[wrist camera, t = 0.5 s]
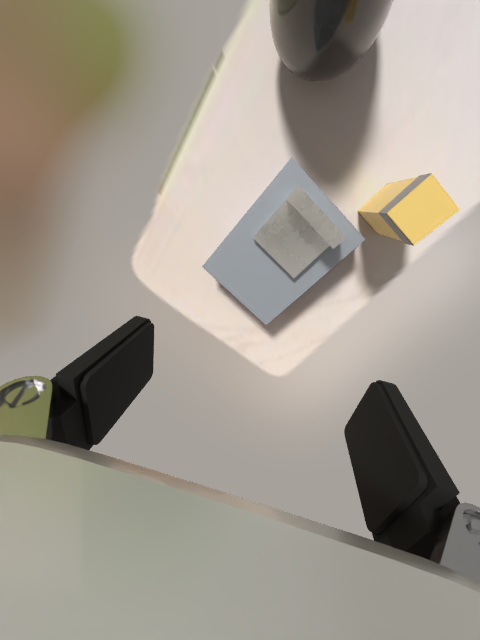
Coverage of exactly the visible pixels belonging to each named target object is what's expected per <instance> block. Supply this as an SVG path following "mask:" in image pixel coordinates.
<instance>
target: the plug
mask: <svg viewBox="0 0 480 640" xmlns="http://www.w3.org/2000/svg"><path fill="white" fill-rule="evenodd" d="M459 210H460V209H459V208H458V206H457V205H456V204H455V203H454V201H453V200H452V199H451V197H450V196H449V195H448V194H447V192H446V191H445V190H444V188H443V187H442V186H441V185H440V183H439V182H438V181H437V179H436V178H435V177H434V176H433V174H431V173H430V174H425V175H421V176H419V177H416V178H411V179H407V180H402V181H398V182H393V183H388V184H386V185H385V186H384V187H383V188H382V189H381V190H380V191H379V192H378V193H377V194H376V195H375V196H373V197H372V198H371V199H370V200H369V201H368V202H367V203H366V204H365V205H364V206H363V207H362V208H361V209H360V210H359V211H358V212H359V213H360V214H361V215H362V216H363V218H364V219H365V220H366V221H367V222H368V223H369V224H370V225H371V227H372V228H373V229H374V230H375V231H376V232H377V233H378V234H380V235H383V236H386V237H390V238H393V239H396V240H399V241H402V242H404V243H406V244H409V245H415V244H417V243H418V242H419V241H420V240H422V239H423V238H424V237H426V236H427V235H428V234H429V233H431V232H432V231H433V230H435V229H436V228H437V227H438V226H440V225H441V224H442V223H444V222H445V221H446V220H447V219H449V218H450V217H451V216H453V215H454V214H455V213H456V212H458V211H459Z"/></svg>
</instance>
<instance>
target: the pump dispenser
mask: <svg viewBox="0 0 480 640" xmlns="http://www.w3.org/2000/svg"><path fill="white" fill-rule="evenodd" d="M392 3H393V0H270V24H271V31H272V37H273V41H274V44H275V47H276V50H277V52H278V54H279V56H280V58H281V60H282V61H283V63H284V64H285V66H286V67H287V68H288V69H289V70H290V71H291V72H292V73H294V74H295V75H297V76H298V77H300V78H302V79H305V80H309V81H325V80H329V79H333V78H335V77H337V76H339V75H341V74H343V73H345V72H346V71H348V70H349V69H350V68H352V67H353V66H354V65H355V64H356V63H357V62H358V61H359V60H360V59H361V58H362V57H363V56H364V55H365V54H366V52H367V51H368V50H369V48H370V47H371V46H372V44H373V43H374V41H375V39H376V38H377V36H378V34H379V32H380V30H381V28H382V26H383V24H384V22H385V20H386V18H387V16H388V13H389V11H390V8H391V6H392Z"/></svg>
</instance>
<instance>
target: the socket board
mask: <svg viewBox="0 0 480 640" xmlns="http://www.w3.org/2000/svg"><path fill="white" fill-rule="evenodd" d="M298 186H300V187H301V188H302V189H303V190H304V191H305V193H306V194H307V195H308V196H309V197H310V198H311V199H312V200H313V201H314V202H315V204H316V205H317V206H318V207H319V208H320V209H321V210H322V211H323V212H324V213H325V214H326V216H327V217H328V218H329V219H330V220H331V221H332V222H333V223H334V224H335V225H336V226H337V228H338V229H339V230H340V231H341V232H342V233H343V234H344V235H345V236H346V238H345V239H344V240H343V241H342V242H341V243H340V244H339V245H337V246H336V247H335V248H334V249H333V248H332V247H331V246H329V247H328V248H326V249H325V250H324V251H323V252H322V253H321V254H320V255H319V256H318V257H317V258H316V259H314V260H313V261H312V262H311V263H310V264H309V265H308V266H307V267H306V268H305V269H304V270H303V271H301V272H300V273H299V274H298V275H297V276H296V277H295V278H293V277H292V276H291V275H290V274H289V273H288V272H287V271H286V270H285V269H284V268H283V267H282V266H281V265H280V264H279V263H278V262H277V261H276V260H275V259H274V258H273V257H272V256H271V255H270V254H269V253H268V252H267V251H266V250H265V249H264V248H263V247H262V246H261V245H260V244H259V243H258V242H257V241H256V240H255V239H253V237H254V236H255V235H256V234H257V233H258V232H259V230H260V229H261V228H262V227H263V226H264V225H265V224H266V222H267V221H268V220H269V219H270V218H271V217H272V216H273V215H274V213H275V212H276V211H277V210H278V209H279V208H280V207H281V206H282V204H283V203H284V202H285V201H286V200H287V198H288V197H289V196H290V195H291V194H292V192H293V191H294V190H295V189H296V188H297V187H298ZM364 240H366V239H365V238H364V237H363V236H362V235H361V234H360V233H359V232H358V230H357V229H356V228H355V227H354V226H353V225H352V224H351V223H350V222H349V220H348V219H347V218H346V217H345V216H344V215H343V214H342V213H341V211H340V210H339V209H338V208H337V207H336V206H335V205H334V204H333V203H332V201H331V200H330V199H329V198H328V197H327V196H326V195H325V194H324V193H323V191H322V190H321V189H320V188H319V187H318V186H317V185H316V184H315V182H314V181H313V180H312V179H311V178H310V177H309V176H308V175H307V174H306V172H305V171H304V170H303V169H302V168H301V167H300V166H299V165H298V164H297V162H296V161H295V160H294V159H293V158H291V159H290V160H289V161H288V163H287V164H286V165H285V166H284V168H283V169H282V170H281V171H280V172H279V174H278V175H277V176H276V177H275V179H274V180H273V181H272V182H271V183H270V185H269V186H268V187H267V188H266V189H265V191H264V192H263V193H262V194H261V196H260V197H259V198H258V199H257V200H256V202H255V203H254V204H253V205H252V207H251V208H250V209H249V210H248V211H247V213H246V214H245V215H244V216H243V218H242V219H241V220H240V221H239V222H238V224H237V225H236V226H235V227H234V228H233V230H232V231H231V232H230V233H229V235H228V236H227V237H226V238H225V239H224V241H223V242H222V243H221V244H220V246H219V247H218V248H217V249H216V250H215V252H214V253H213V254H212V255H211V257H210V258H209V259H208V260H207V261H206V263H205V264H204V265H203V266H202V267H203V268H204V269H205V270H206V271H207V272H208V273H210V274H211V275H212V276H213V277H214V278H215V279H216V280H217V281H218V282H219V283H220V284H222V285H223V286H224V287H225V288H226V289H227V290H228V291H229V292H230V293H231V294H232V295H234V296H235V297H236V298H237V299H238V300H239V301H240V302H241V303H242V304H243V305H244V306H246V307H247V308H248V309H249V310H250V311H251V312H252V313H253V314H254V315H255V316H256V317H258V318H259V319H260V320H261V321H262V322H263V323H264V324H265V325H267V324H268V323H270V322H271V321H272V320H273V319H274V318H275V317H276V316H278V315H279V314H280V313H281V312H282V311H283V310H285V309H286V308H287V307H288V306H289V305H290V304H292V303H293V302H294V301H295V300H296V299H297V298H298V297H300V296H301V295H302V294H303V293H304V292H305V291H307V290H308V289H309V288H310V287H311V286H312V285H313V284H315V283H316V282H317V281H318V280H319V279H320V278H322V277H323V276H324V275H325V274H326V273H327V272H329V271H330V270H331V269H332V268H333V267H334V266H335V265H337V264H338V263H339V262H340V261H341V260H342V259H344V258H345V257H346V256H347V255H348V254H349V253H350V252H352V251H353V250H354V249H355V248H356V247H357V246H359V245H360V244H361V243H362V242H363V241H364Z"/></svg>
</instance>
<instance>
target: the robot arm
mask: <svg viewBox="0 0 480 640" xmlns="http://www.w3.org/2000/svg"><path fill="white" fill-rule="evenodd" d="M153 354H154V325H153V323H151V321H150V319H147V318H143V317H139V316H135V317H133V318H132V319H131V320H129V321H128V322H127V323H125V324H124V325H122V326H121V327H120V328H118V329H117V330H116V331H114V332H113V333H112V334H110V335H109V336H107V337H106V338H105V339H103V340H102V341H100V342H99V343H98V344H96V345H95V346H94V347H92V348H91V349H90V350H88V351H87V352H85V353H84V354H83V355H81V356H80V357H78V358H77V359H76V360H74V361H73V362H72V363H70V364H69V365H68V366H66V367H65V368H64V369H62V370H61V371H59V372H58V373H56V377H54V378H53V379H51V380H49V379H47V378H44V377H41V376H28V377H22V378H18V379H15V380H13V381H10V382H8V383H6V384H4V385H2V386H1V387H0V640H480V508H479V507H477V506H475V505H473V504H469V503H461V504H460V502H459V500H458V499H457V497H456V495H458V494H459V491H458V489H457V488H456V486H455V484H454V483H453V481H452V479H451V478H450V476H449V474H448V473H447V471H446V469H445V467H444V466H443V464H442V462H441V461H440V459H439V457H438V456H437V454H436V452H435V450H434V449H433V447H432V445H431V444H430V442H429V440H428V439H427V437H426V435H425V433H424V432H423V430H422V429H421V427H420V425H419V423H418V422H417V420H416V418H415V417H414V415H413V413H412V411H411V410H410V408H409V406H408V405H407V403H406V401H405V400H404V398H403V396H402V395H401V393H400V391H399V390H398V388H397V386H396V385H394V384H392V383H388V382H385V381H381V380H378V381H376V382H375V383H374V382H373V383H371V384H370V386H369V388H368V389H367V391H366V393H365V394H364V396H363V398H362V399H361V401H360V403H359V404H358V406H357V408H356V409H355V411H354V413H353V415H352V416H351V418H350V420H349V421H348V423H347V425H346V427H345V438H346V442H347V447H348V450H349V455H350V459H351V463H352V467H353V471H354V476H355V480H356V484H357V488H358V492H359V496H360V500H361V505H362V509H363V513H364V517H365V521H366V525H367V528H368V530H369V531H370V532H372V534H373V538H374V541H373V540H370V539H367V538H364V537H361V536H358V535H355V534H352V533H349V532H346V531H343V530H340V529H337V528H333V527H330V526H327V525H324V524H321V523H318V522H315V521H312V520H309V519H305V518H302V517H300V516H296V515H293V514H290V513H287V512H284V511H281V510H278V509H274V508H272V507H268V506H265V505H262V504H259V503H256V502H253V501H250V500H247V499H243V498H240V497H237V496H234V495H231V494H227V493H224V492H221V491H218V490H215V489H212V488H209V487H206V486H203V485H199V484H196V483H193V482H189V481H187V480H184V479H180V478H177V477H174V476H171V475H168V474H164V473H161V472H158V471H155V470H151V469H148V468H145V467H142V466H139V465H135V464H132V463H129V462H126V461H123V460H119V459H116V458H113V457H110V456H106V455H103V454H99V453H96V452H92V451H89V450H90V448H91V447H92V446H93V445H97V444H98V443H99V442H101V440H102V439H103V438H104V437H105V435H106V434H107V433H108V432H109V430H110V429H111V428H112V427H113V425H114V424H115V423H116V422H117V420H118V419H119V418H120V416H121V415H122V414H123V413H124V411H125V410H126V409H127V408H128V407H129V405H130V404H131V403H132V401H133V400H134V399H135V398H136V396H137V395H138V394H139V393H140V391H141V390H142V389H143V388H144V386H145V385H146V384H147V382H148V381H149V380H150V378H151V377H152V374H153Z"/></svg>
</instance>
